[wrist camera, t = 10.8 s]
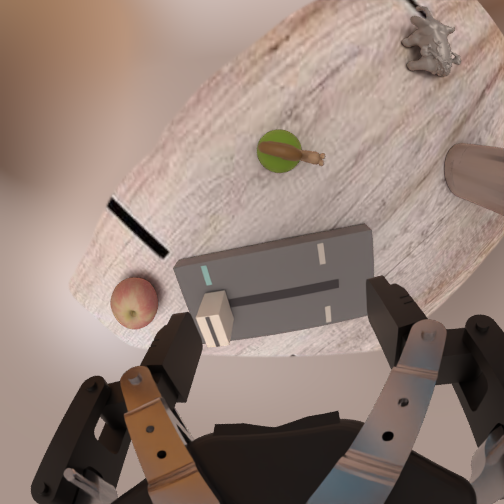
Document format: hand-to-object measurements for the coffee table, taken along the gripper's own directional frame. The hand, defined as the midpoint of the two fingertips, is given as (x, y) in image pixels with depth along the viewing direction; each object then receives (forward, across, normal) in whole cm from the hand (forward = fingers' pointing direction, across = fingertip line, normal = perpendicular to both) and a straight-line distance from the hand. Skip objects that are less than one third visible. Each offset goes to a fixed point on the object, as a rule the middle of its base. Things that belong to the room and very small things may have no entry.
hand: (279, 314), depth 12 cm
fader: (+23, +11, +13) cm, 28 cm away
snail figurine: (+27, -3, -6) cm, 28 cm away
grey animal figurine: (+28, -28, -20) cm, 44 cm away
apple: (+26, +24, +10) cm, 37 cm away
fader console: (+27, +2, +13) cm, 30 cm away
